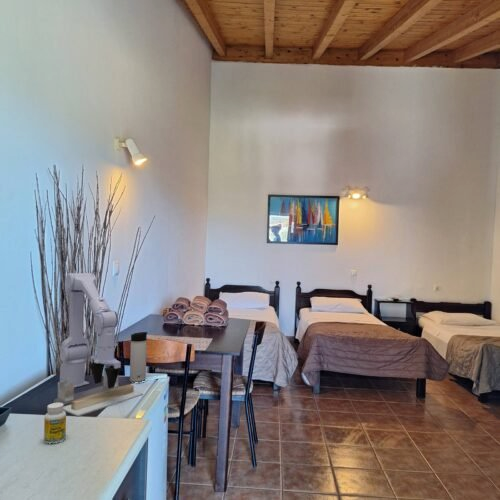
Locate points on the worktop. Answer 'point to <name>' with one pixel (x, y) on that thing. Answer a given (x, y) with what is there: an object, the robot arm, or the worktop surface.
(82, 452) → the worktop surface
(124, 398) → the mat
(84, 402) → the rail
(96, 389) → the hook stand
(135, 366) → the travel mug
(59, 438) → the supplement bottle
